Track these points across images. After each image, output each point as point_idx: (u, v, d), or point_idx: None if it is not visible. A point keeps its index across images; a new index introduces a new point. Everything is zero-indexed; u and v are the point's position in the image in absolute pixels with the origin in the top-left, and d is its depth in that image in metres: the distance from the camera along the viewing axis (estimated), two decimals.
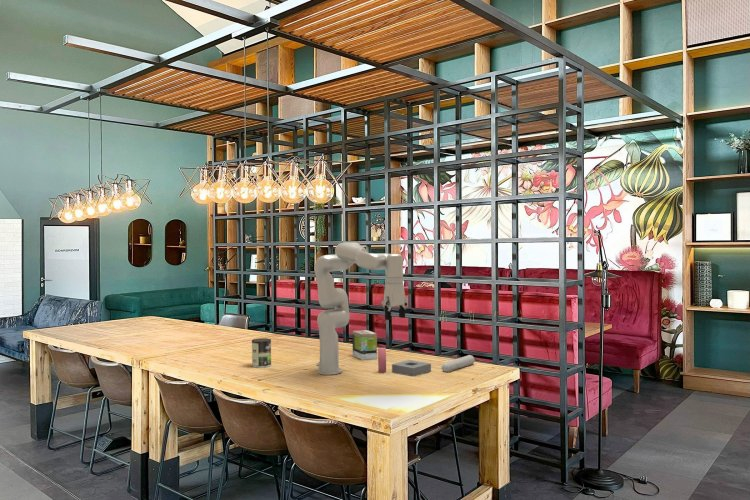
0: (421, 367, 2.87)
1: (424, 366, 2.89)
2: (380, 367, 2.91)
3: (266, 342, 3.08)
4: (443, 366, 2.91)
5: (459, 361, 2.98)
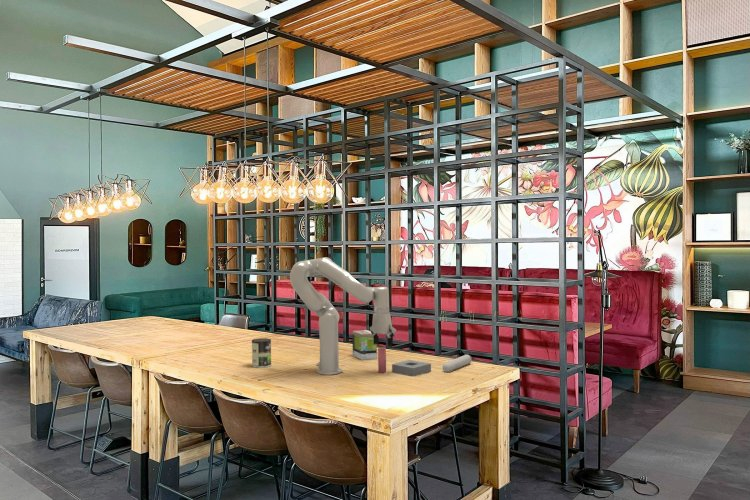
0: (421, 367, 2.87)
1: (424, 366, 2.89)
2: (380, 367, 2.91)
3: (266, 342, 3.08)
4: (444, 366, 2.91)
5: (458, 360, 2.99)
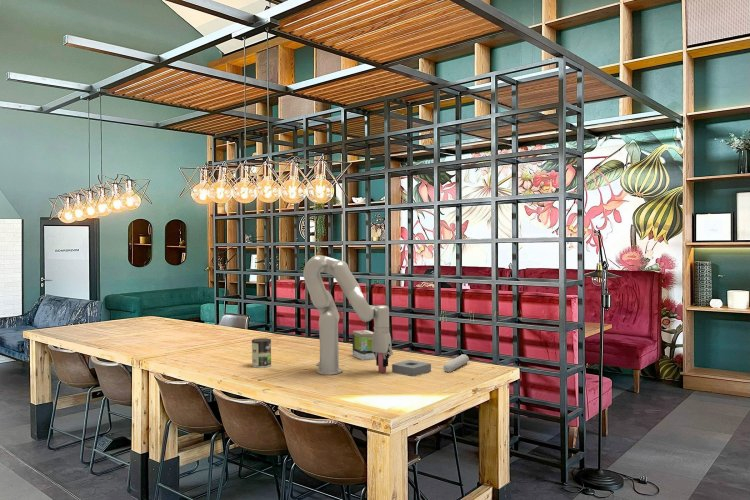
0: (421, 367, 2.87)
1: (424, 366, 2.89)
2: (380, 367, 2.91)
3: (266, 342, 3.08)
4: (445, 366, 2.90)
5: (457, 360, 2.99)
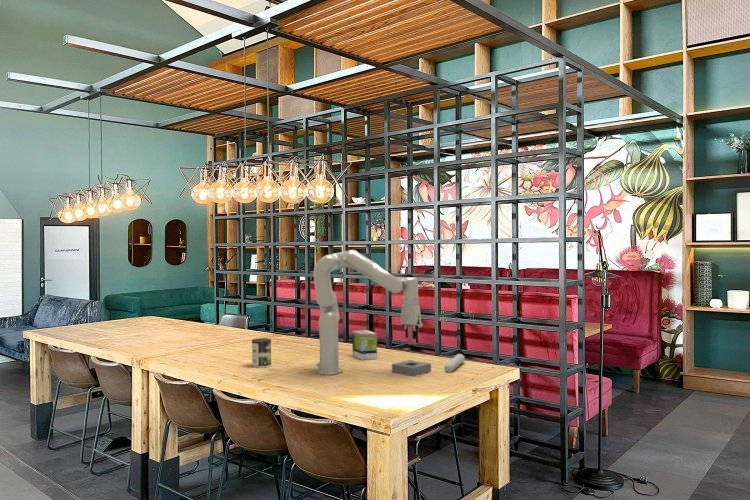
0: (421, 367, 2.87)
1: (424, 366, 2.89)
2: (410, 339, 2.91)
3: (266, 342, 3.08)
4: (447, 366, 2.90)
5: (456, 360, 3.00)
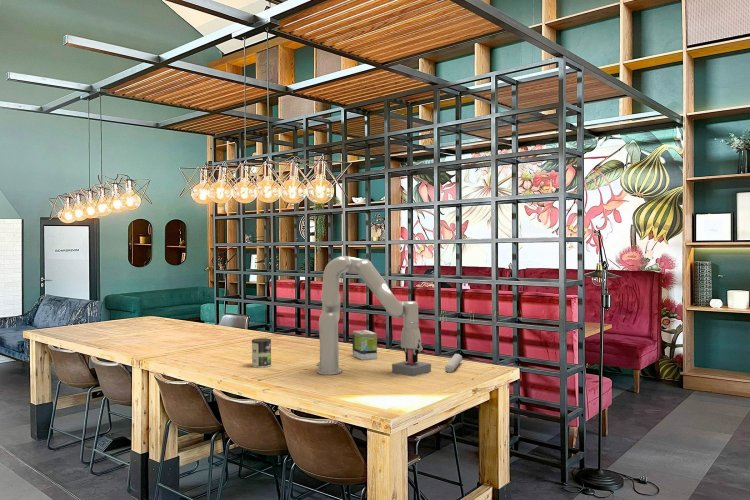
0: (421, 367, 2.87)
1: (424, 366, 2.89)
2: (410, 363, 2.91)
3: (266, 342, 3.08)
4: (448, 367, 2.90)
5: (455, 360, 3.00)
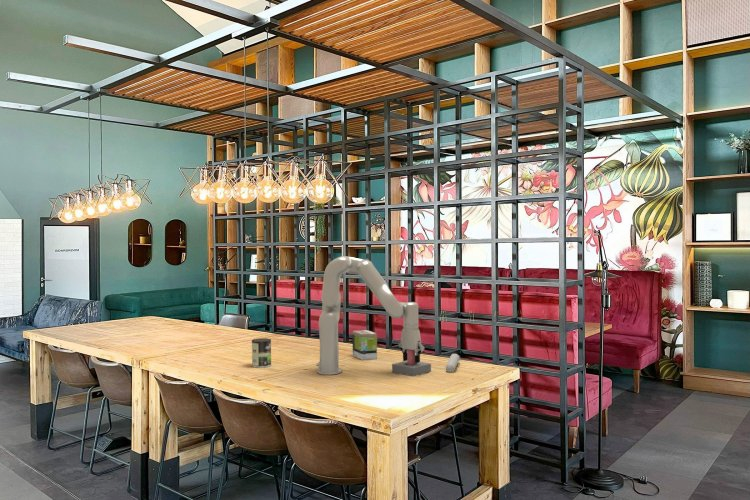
0: (421, 367, 2.87)
1: (424, 366, 2.89)
2: None
3: (266, 342, 3.08)
4: (449, 367, 2.90)
5: (455, 360, 3.00)
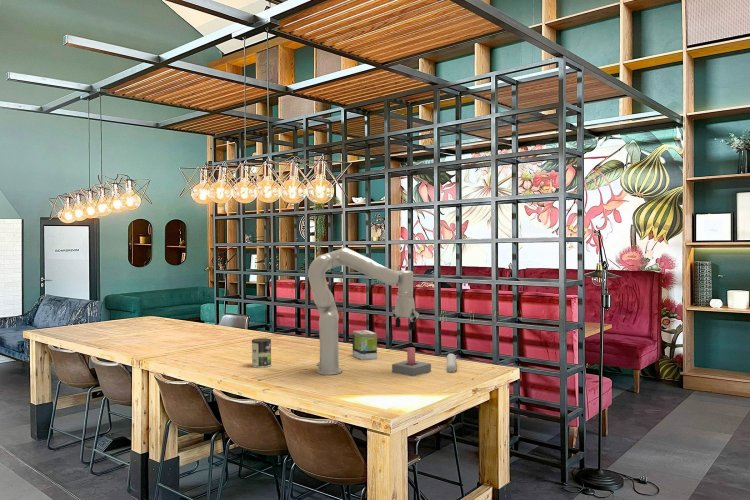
0: (421, 367, 2.87)
1: (424, 366, 2.89)
2: None
3: (266, 342, 3.08)
4: (450, 367, 2.90)
5: (454, 360, 3.01)
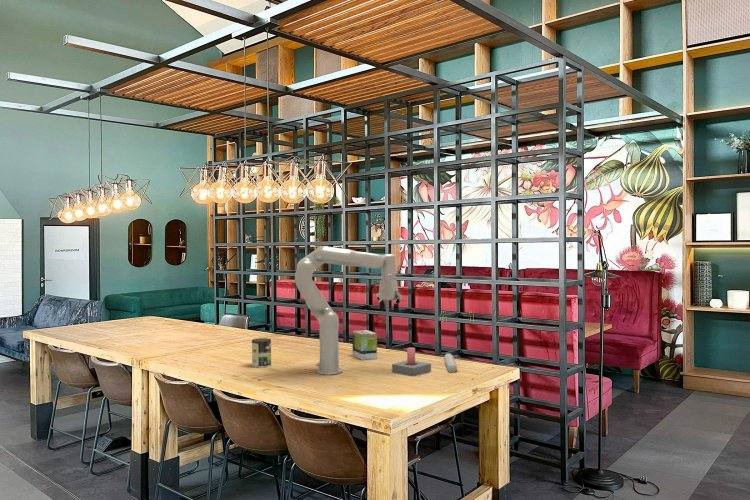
0: (421, 367, 2.87)
1: (424, 366, 2.89)
2: None
3: (266, 342, 3.08)
4: (451, 367, 2.90)
5: (453, 360, 3.01)
